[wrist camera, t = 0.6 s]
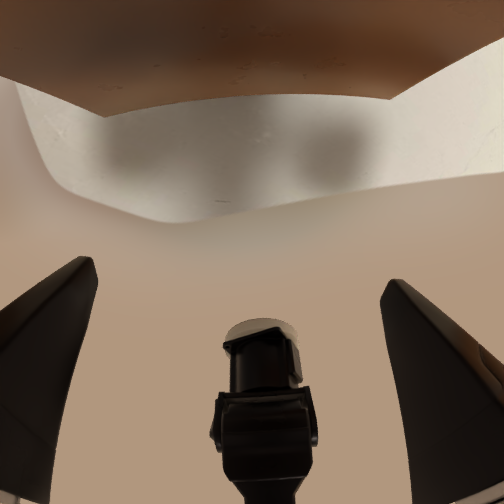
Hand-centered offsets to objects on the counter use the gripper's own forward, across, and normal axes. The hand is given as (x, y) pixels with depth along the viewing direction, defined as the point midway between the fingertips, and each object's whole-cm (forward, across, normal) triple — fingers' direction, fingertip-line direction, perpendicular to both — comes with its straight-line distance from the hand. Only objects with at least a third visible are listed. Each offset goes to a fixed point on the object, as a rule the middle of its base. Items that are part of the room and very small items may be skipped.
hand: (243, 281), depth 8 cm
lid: (+2, +1, -7) cm, 8 cm away
